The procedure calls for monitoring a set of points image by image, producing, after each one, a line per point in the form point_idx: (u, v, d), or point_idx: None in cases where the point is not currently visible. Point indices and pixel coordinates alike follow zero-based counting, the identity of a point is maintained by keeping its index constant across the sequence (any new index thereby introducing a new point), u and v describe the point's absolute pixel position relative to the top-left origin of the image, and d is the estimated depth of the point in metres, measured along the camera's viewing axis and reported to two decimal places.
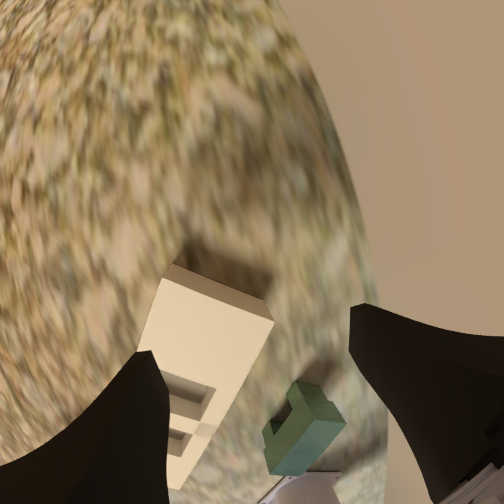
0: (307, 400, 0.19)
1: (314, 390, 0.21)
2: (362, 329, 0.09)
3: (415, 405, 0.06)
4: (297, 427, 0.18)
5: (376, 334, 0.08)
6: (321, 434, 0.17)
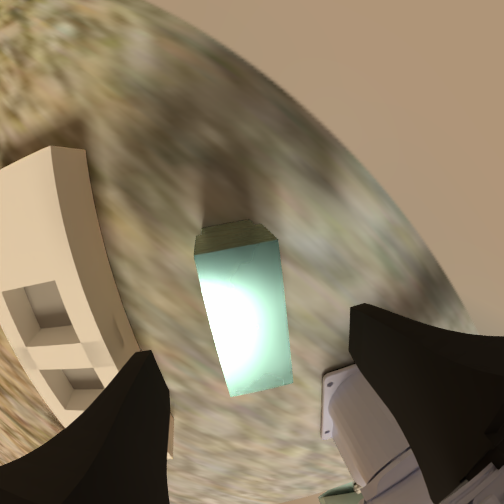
0: (202, 238, 0.12)
1: (234, 225, 0.14)
2: (362, 329, 0.09)
3: (415, 405, 0.06)
4: None
5: (376, 334, 0.08)
6: (242, 283, 0.10)
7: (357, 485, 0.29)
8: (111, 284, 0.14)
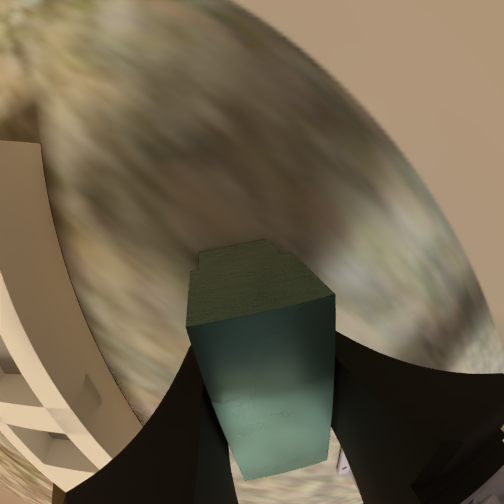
0: (200, 278, 0.07)
1: (247, 250, 0.10)
2: None
3: (352, 435, 0.06)
4: None
5: None
6: (271, 364, 0.06)
7: None
8: (80, 326, 0.10)
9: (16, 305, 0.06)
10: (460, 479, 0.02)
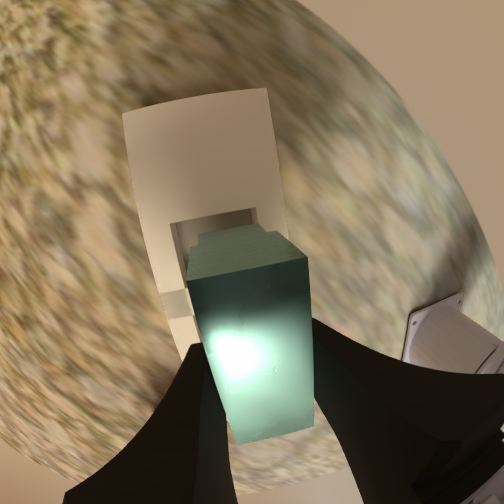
0: (198, 250, 0.09)
1: (240, 231, 0.11)
2: None
3: (352, 435, 0.06)
4: None
5: (317, 354, 0.08)
6: (256, 317, 0.07)
7: None
8: None
9: (281, 187, 0.13)
10: (460, 479, 0.02)
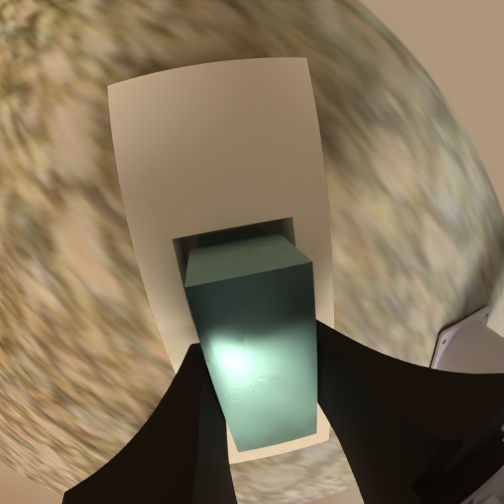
0: (198, 254, 0.08)
1: (241, 234, 0.11)
2: None
3: (353, 434, 0.06)
4: None
5: (317, 353, 0.08)
6: (258, 325, 0.07)
7: None
8: None
9: (325, 190, 0.10)
10: (461, 479, 0.03)
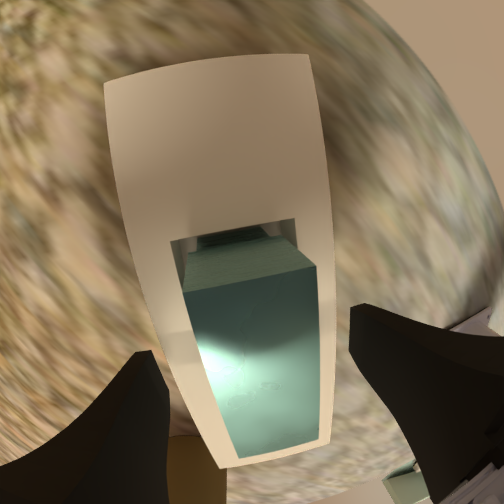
0: (196, 257, 0.08)
1: (241, 235, 0.10)
2: (362, 329, 0.09)
3: (415, 405, 0.06)
4: None
5: (376, 334, 0.08)
6: (260, 331, 0.06)
7: None
8: None
9: (328, 190, 0.09)
10: None
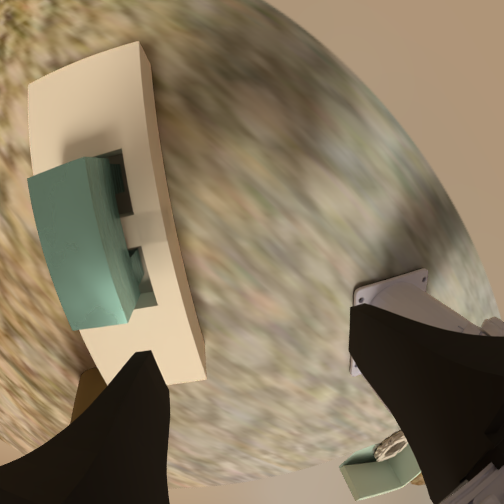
0: None
1: None
2: (362, 329, 0.09)
3: (415, 405, 0.06)
4: None
5: (376, 334, 0.08)
6: (59, 201, 0.09)
7: (378, 451, 0.31)
8: (164, 176, 0.16)
9: (147, 127, 0.12)
10: None
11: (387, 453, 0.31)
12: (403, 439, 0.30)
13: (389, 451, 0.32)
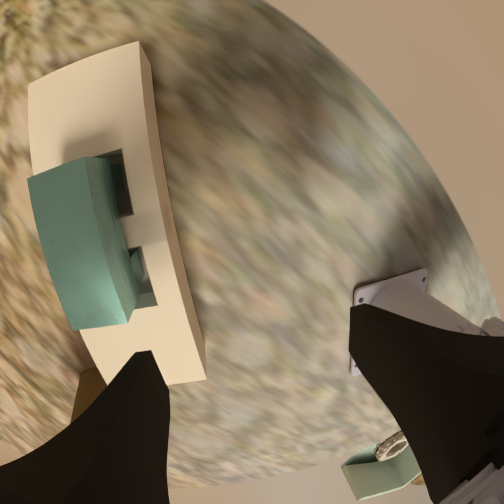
0: None
1: None
2: (362, 329, 0.09)
3: (415, 405, 0.06)
4: None
5: (376, 334, 0.08)
6: (59, 201, 0.09)
7: (379, 451, 0.31)
8: (164, 176, 0.16)
9: (147, 127, 0.12)
10: None
11: (388, 453, 0.32)
12: (404, 439, 0.30)
13: (390, 451, 0.32)
